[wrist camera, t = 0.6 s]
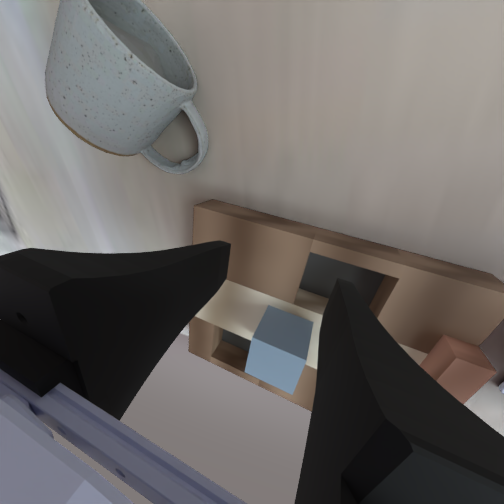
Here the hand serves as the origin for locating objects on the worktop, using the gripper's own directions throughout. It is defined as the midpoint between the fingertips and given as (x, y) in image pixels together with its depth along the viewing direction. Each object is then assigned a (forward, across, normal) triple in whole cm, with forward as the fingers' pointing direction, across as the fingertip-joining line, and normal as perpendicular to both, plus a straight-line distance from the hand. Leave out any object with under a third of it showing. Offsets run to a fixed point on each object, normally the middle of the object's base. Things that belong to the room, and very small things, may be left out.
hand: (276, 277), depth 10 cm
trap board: (+9, -2, +9) cm, 13 cm away
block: (+6, -1, +9) cm, 11 cm away
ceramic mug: (+10, +14, -7) cm, 18 cm away
